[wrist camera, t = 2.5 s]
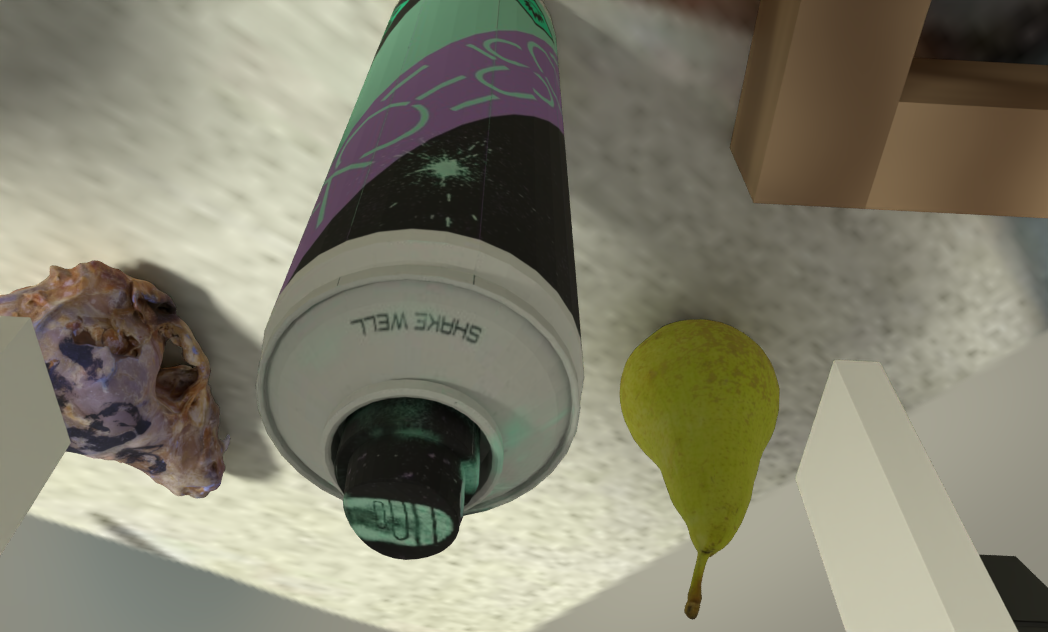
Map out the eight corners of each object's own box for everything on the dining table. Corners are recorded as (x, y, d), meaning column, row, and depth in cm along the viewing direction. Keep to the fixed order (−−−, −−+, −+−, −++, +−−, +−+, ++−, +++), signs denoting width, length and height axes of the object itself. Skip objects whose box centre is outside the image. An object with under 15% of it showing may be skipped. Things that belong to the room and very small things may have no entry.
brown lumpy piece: (276, 445, 39) (240, 556, 34) (120, 474, 40) (63, 586, 36) (145, 214, 33) (76, 311, 28) (-38, 257, 34) (-136, 357, 29)
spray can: (588, 71, 29) (664, 562, 13) (452, 155, 31) (372, 679, 15) (494, -78, 27) (444, 304, 10) (352, 23, 28) (119, 484, 12)
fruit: (779, 296, 34) (879, 540, 25) (726, 407, 38) (796, 660, 28) (636, 270, 34) (681, 509, 24) (596, 384, 37) (621, 636, 27)
